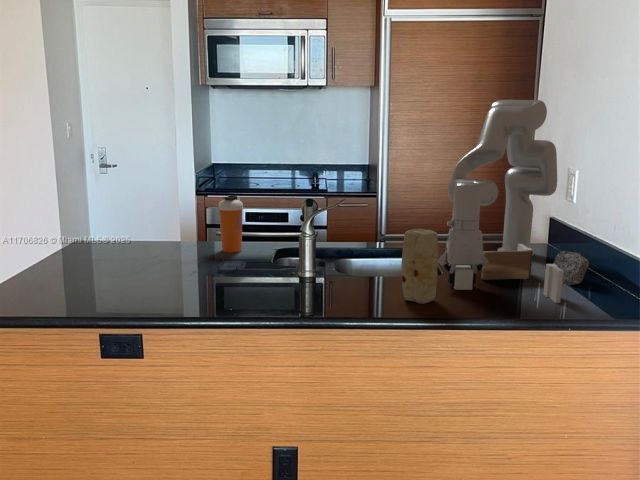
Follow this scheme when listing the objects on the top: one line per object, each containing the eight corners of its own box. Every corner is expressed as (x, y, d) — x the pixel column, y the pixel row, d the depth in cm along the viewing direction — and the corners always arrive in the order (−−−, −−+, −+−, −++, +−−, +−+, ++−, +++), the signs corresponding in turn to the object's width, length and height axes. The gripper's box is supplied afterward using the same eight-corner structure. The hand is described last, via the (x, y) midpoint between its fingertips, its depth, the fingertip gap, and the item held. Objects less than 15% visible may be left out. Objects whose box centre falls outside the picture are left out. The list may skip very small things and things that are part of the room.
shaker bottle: (216, 252, 212) (214, 198, 207) (224, 247, 220) (222, 194, 216) (240, 254, 210) (238, 198, 206) (247, 248, 219) (246, 195, 214)
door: (479, 278, 182) (481, 250, 180) (527, 277, 184) (529, 249, 182) (482, 280, 179) (484, 252, 177) (530, 279, 181) (533, 251, 179)
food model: (433, 297, 163) (437, 227, 159) (438, 305, 157) (442, 232, 152) (398, 297, 163) (401, 226, 159) (402, 304, 157) (405, 231, 152)
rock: (591, 288, 172) (593, 254, 171) (561, 286, 173) (564, 252, 172) (574, 282, 187) (577, 251, 187) (547, 280, 188) (550, 249, 188)
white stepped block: (472, 289, 170) (473, 269, 169) (455, 289, 170) (456, 269, 169) (465, 281, 178) (466, 262, 177) (448, 281, 178) (450, 262, 177)
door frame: (553, 302, 159) (556, 270, 157) (513, 270, 191) (516, 243, 189) (562, 302, 159) (565, 271, 157) (521, 270, 191) (523, 243, 189)
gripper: (438, 227, 165) (435, 289, 169) (498, 227, 165) (494, 289, 169) (433, 222, 172) (430, 281, 176) (491, 222, 172) (486, 282, 176)
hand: (461, 284), depth 173 cm, fingers closed on white stepped block, 5 cm apart
